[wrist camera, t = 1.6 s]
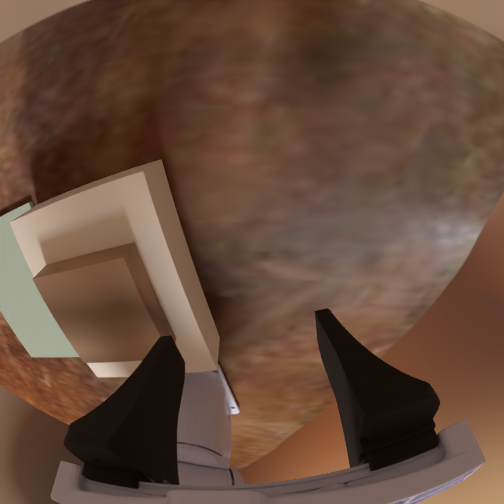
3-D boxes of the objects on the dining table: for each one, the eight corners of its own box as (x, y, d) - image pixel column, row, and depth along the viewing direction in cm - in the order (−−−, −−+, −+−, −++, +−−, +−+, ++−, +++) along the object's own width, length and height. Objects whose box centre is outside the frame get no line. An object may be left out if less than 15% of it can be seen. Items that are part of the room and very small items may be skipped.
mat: (108, 352, 27) (106, 355, 26) (33, 354, 28) (31, 357, 27) (32, 200, 19) (28, 202, 19) (-33, 235, 20) (-36, 237, 20)
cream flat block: (219, 336, 26) (217, 370, 22) (109, 348, 27) (97, 377, 23) (161, 159, 19) (143, 170, 15) (37, 204, 19) (9, 222, 16)
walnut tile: (176, 338, 21) (172, 358, 19) (92, 346, 21) (84, 363, 19) (134, 242, 17) (123, 257, 15) (46, 264, 18) (32, 279, 16)
